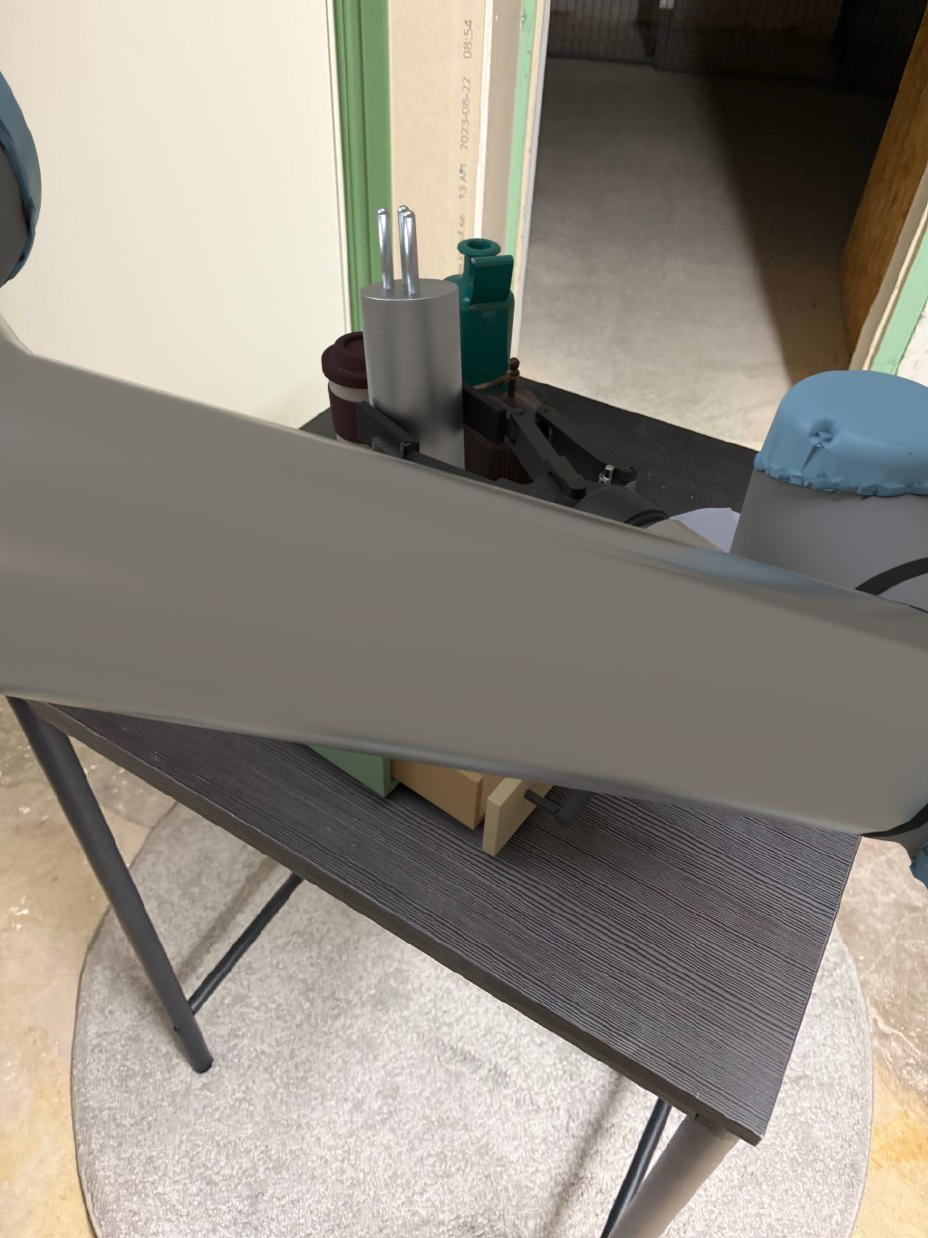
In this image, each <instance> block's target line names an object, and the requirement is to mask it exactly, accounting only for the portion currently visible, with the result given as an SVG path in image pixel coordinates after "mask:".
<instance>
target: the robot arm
mask: <svg viewBox="0 0 928 1238" xmlns="http://www.w3.org/2000/svg"><path fill="white" fill-rule="evenodd" d="M41 172H42V171H41V167H40V161H39V155H38V151H37V147H36V143H35V140H34V137H33V134H32V131H31V129H30V128H29V126H28V124H27V121H26V119H25V116H24V113H23V110H22V108H21V106H20V104H19V102H18V100H17V99H16V97H15V95H14V92H13V89H12V88H11V86H10V84H9V82H8V81H7V79H6V78H5V76H4V74H3V73H2V71H1V70H0V289H1V288H3V286H5V285H6V284H8V282H9V281H11V280H13V279H15V278H16V277H17V275H18V274H19V273H20V272H21V271H22V270H23V268H24V266H25V265H26V263H27V261H28V259H29V257H30V255H31V252H32V249H33V247H34V244H35V238H36V234H37V233H36V227H37V225H38V222H39V220H40V219H39V218H40V214H41V213H40V212H41V208H42V195H43V194H42V193H43V191H42V187H43V186H42V185H43V183H42V173H41ZM462 404H463V423H465V424H466V425H468V426H469V427H470V428H472V429H473V430H475V431H476V432H477V433H479V434H480V435H482V436H483V437H485V438H486V439H487V440H489V441H490V442H492V443H493V444H494V445H499V444H501V443H504V437H505V435H506V436H507V437H508V444H507V452H509V449H511V452H514V453H515V455H516V456H517V458H518V459H519V461H520V462H521V464H522V465H523V467H524V468H525V470H526V471H527V473H528V474H529V476H530V477H531V479H532V480H533V483H529V484H525V485H520V484H518V483H515V482H512V481H510V480H507V479H505V478H500V479H498V480H497V481H492V480H489V479H487V478H484V477H481V476H479V475H476V474H474V473H471V472H468V471H466V470H463V469H461V468H458V467H455V466H453V465H450V464H448V463H445V462H442V461H440V460H437V459H435V458H432V457H429V456H427V455H424V454H422V453H420V442H419V441H418V440H416V439H415V438H414V437H412V436H411V435H410V434H408V433H407V432H406V431H404V430H403V429H402V428H400V427H399V426H398V425H397V424H395V423H394V422H393V421H391V420H390V419H389V418H387V417H386V416H385V415H383V414H382V413H381V412H379V411H378V410H377V409H375V408H374V407H373V406H371V405H370V404H369V403H368V402H366V401H362V402H359V403H356V418H357V437H358V438H359V439H360V440H361V441H363V442H364V443H365V444H366V445H368V446H369V447H370V448H371V449H372V450H368V449H365V448H361V447H358V446H355V445H351V444H348V443H344V442H341V441H337V439H333V438H330V437H328V436H327V437H326V436H323V435H319V434H316V433H313V432H309V431H305V430H302V429H298V428H295V427H292V426H288V425H285V424H281V423H277V422H274V421H272V420H267V419H264V418H262V417H261V418H260V417H257V416H254V415H249V414H247V413H243V412H240V411H236V410H233V409H229V408H226V407H223V406H219V405H216V404H212V403H208V402H205V401H202V400H198V399H194V398H191V397H187V396H184V395H180V394H178V393H173V392H170V391H167V390H163V389H160V388H156V387H153V386H149V385H146V384H142V383H140V382H136V381H132V380H128V379H125V378H121V377H118V376H115V375H111V374H108V373H105V372H100V371H97V370H93V369H90V368H86V367H83V366H81V365H76V364H72V363H69V362H66V361H62V360H59V359H55V358H52V357H49V356H45V355H41V354H38V353H35V352H33V351H32V349H30V348H29V347H28V346H27V345H26V344H25V343H23V341H22V340H21V339H20V338H19V336H18V335H17V333H16V332H15V331H14V329H13V328H12V326H11V325H10V324H9V322H8V321H7V319H6V318H5V317H4V315H3V314H2V313H1V311H0V696H6V697H12V698H18V699H24V700H25V699H26V700H31V701H36V702H42V703H49V704H55V705H61V706H66V707H74V708H78V709H79V708H80V709H85V710H91V711H99V712H102V713H104V712H105V713H109V714H115V715H122V716H127V717H128V716H129V717H135V718H140V719H147V720H153V721H158V722H165V723H171V724H177V725H184V726H189V727H196V728H200V729H201V728H202V729H207V730H214V731H221V732H226V733H232V734H238V735H245V736H250V737H256V738H262V739H270V740H275V741H281V742H287V743H294V744H299V745H305V746H307V745H311V746H317V747H323V748H329V749H335V750H342V751H348V752H354V753H360V754H366V755H372V756H378V757H384V758H391V759H397V760H403V761H409V762H415V763H421V764H427V765H433V766H439V767H446V768H452V769H458V770H464V771H470V772H476V773H482V774H488V775H494V776H501V777H507V778H513V779H519V780H525V781H531V782H537V783H543V784H550V785H553V786H557V787H562V788H568V789H574V790H575V789H580V790H586V791H592V792H596V793H599V794H606V795H612V796H616V797H617V796H618V797H624V798H629V799H636V800H642V801H647V802H648V801H649V802H653V803H660V804H667V805H673V806H679V807H684V808H685V807H686V808H691V809H697V810H701V811H702V810H703V811H708V812H715V813H721V814H726V815H727V814H728V815H734V816H740V817H746V818H752V819H758V820H763V821H770V822H775V823H783V824H788V825H795V826H800V827H805V828H806V827H807V828H813V829H819V830H825V831H831V832H837V833H843V834H849V835H856V836H861V837H863V838H865V839H871V840H877V841H884V842H890V843H897V844H899V845H900V846H902V847H903V848H904V850H905V851H906V853H907V855H908V857H909V860H910V865H909V866H908V867H909V870H910V872H911V874H912V877H913V878H914V879H916V880H917V881H919V882H921V883H922V884H923V885H924V886H925V889H926V890H927V891H928V386H926V385H925V384H922V383H920V382H918V381H914V380H913V379H909V378H905V377H903V376H900V375H895V374H893V373H892V374H891V373H887V372H882V371H875V370H868V369H867V370H866V369H852V370H851V369H846V370H840V369H839V370H837V369H836V370H828V371H822V372H819V373H817V374H813V375H810V376H808V377H805V378H804V379H802V380H800V381H798V382H797V383H795V384H794V385H793V386H792V387H790V388H789V389H788V390H787V391H786V393H784V395H783V396H782V398H781V400H780V402H779V404H778V406H777V408H776V411H775V414H774V416H773V419H772V421H771V424H770V427H769V429H768V432H767V434H766V437H765V439H764V441H763V444H762V447H761V449H760V451H759V452H758V453H756V454H755V456H754V458H753V462H752V464H753V469H752V473H751V476H750V480H749V483H748V487H747V490H746V494H745V497H744V500H743V504H742V507H741V510H740V513H739V514H740V517H739V521H738V524H737V527H736V531H735V534H734V538H733V541H732V544H731V548H730V551H729V553H726V552H724V551H723V550H721V549H720V548H719V547H717V546H716V545H714V544H713V543H711V542H710V541H708V540H707V539H705V538H704V537H702V536H701V535H700V534H698V533H697V532H695V531H694V530H692V529H691V528H689V527H688V526H686V525H685V524H683V523H682V522H681V521H679V520H672V519H669V515H668V514H667V513H666V512H665V511H664V510H662V509H661V508H660V507H658V506H656V505H654V504H653V503H652V502H650V501H648V499H646V498H644V497H643V496H641V495H639V494H638V493H637V492H635V489H636V484H637V480H638V475H639V470H640V468H639V466H638V464H636V463H634V462H632V461H630V460H628V459H625V458H623V457H620V456H618V455H615V454H613V453H612V452H610V451H609V450H608V449H606V448H605V447H604V446H603V445H601V444H600V443H599V442H598V441H596V440H595V439H594V438H592V437H591V436H590V435H588V434H587V433H585V432H584V431H583V430H582V429H580V428H579V427H578V426H577V425H575V424H574V423H572V421H570V420H569V419H568V418H566V417H565V416H564V415H562V414H561V413H560V412H558V411H557V410H556V409H554V408H553V407H552V406H550V405H549V404H543V405H539V406H537V407H536V411H535V412H530V413H528V412H527V411H526V410H524V409H520V408H515V409H513V408H511V407H510V406H508V405H507V404H505V403H503V402H502V401H501V400H499V399H498V398H496V397H494V396H491V395H485V394H483V393H482V392H480V391H479V390H477V389H476V388H474V387H473V386H471V385H470V384H468V383H467V382H465V381H464V380H462ZM550 428H551V430H552V434H551V433H550Z"/></svg>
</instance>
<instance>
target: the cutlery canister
mask: <svg viewBox="0 0 928 1238" xmlns="http://www.w3.org/2000/svg"><path fill="white" fill-rule="evenodd" d="M390 218H391V217H390V212H389V209H388V208H387V207H385V206H381V207H378V209H377V211H376V223H377V236H378V248H379V261H380V272H381V281H378V282H373V283H370V284H368V285H365V286H363V287H361V288H360V289H359V291H358V293H359V294H358V295H359V304H360V315H361V327H362V331H363V337H364V348H365V359H366V370H367V380H368V391H369V402H370V405H371V406H373V407H374V408H375V409H377V410H378V411H379V412H381V413H382V414H383V415H385V416H386V417H387V418H389V419H390V420H391V421H393V422H394V423H395V424H397V425H398V426H399V427H400V428H402V429H403V430H404V431H406V432H407V433H408V434H410V435H411V436H412V437H414V438H415V439H416V440H418V441H419V442H420V453H422V454H424V455H427V456H429V457H432V458H435V459H437V460H440V461H442V462H445V463H448V464H450V465H453V466H455V467H458V468H461V469H463V470H465V462H464V433H463V404H462V376H461V347H460V318H459V290H458V285H457V284H455V283H453V282H450V281H446V280H443V279H440V278H439V279H438V278H427V277H425V278H422V277H421V278H420V272H419V256H418V239H417V238H418V237H417V221H416V214H415V212H414V211H413V210H411V209H410V208H409V207H408V206H407V205H406V204H402V205H400V206H399V207H398V208H397V227H398V240H399V241H398V242H399V252H400V253H399V257H400V269H401V270H400V271H401V278H398V279H397V278H396V279H395V275H394V262H393V247H392V235H391V233H392V232H391V222H390V221H391V220H390Z"/></svg>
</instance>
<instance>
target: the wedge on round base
mask: <svg viewBox="0 0 928 1238" xmlns="http://www.w3.org/2000/svg"><path fill="white" fill-rule="evenodd" d="M740 514H741V513H740V512H737V511H735V510H734V511H733V510H732V507H706V508H705V507H704V508H699V509H696V510H692V511H688V512H684V513H681V514H677V515H674V516H670V517H669V516H668V517H669V519H672V520H679V521H681V522H682V523H683V524H685V525H686V526H688V527H689V528H691V529H692V530H694V531H695V532H697V533H698V534H700V535H701V536H702V537H704V538H705V539H707V540H708V541H710V542H711V543H713V544H714V545H716V546H717V547H719V548H720V549H721V550H723V551H724V552H726V553H729V551H730V548H731V544H732V541H733V538H734V534H735V531H736V527H737V524H738V521H739V517H740Z"/></svg>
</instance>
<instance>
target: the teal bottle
mask: <svg viewBox="0 0 928 1238" xmlns="http://www.w3.org/2000/svg"><path fill="white" fill-rule="evenodd" d="M456 250H457V251H458V252H459V253H460V254H461V255H462V256H463V266H462V273H455V274H452V275H448V276H446V277H444V278H443V279H442V280H446V281H450V282H453V283H455V284H457V285H458V290H459V318H460V347H461V376H462V380H464V381H465V382H467V383H468V384H470V385H471V386H476V385H480V384H484V383H487V382H490V381H493V380H494V379H496V378H498V377H501V376H502V375H504V374H506V372H507V370H508V369H509V368H510V367H509V363H508V361H509V360H510V359H511V353H512V343H513V332H514V330H513V329H514V319H515V310H516V309H515V308H516V298H515V295H514V293H513V291H512V290H511V288H512V281H513V280H512V279H513V274H514V266H515V265H514V264H515V259H514V256H513V255H512V254H501V255H499V254H500V253H501V252H502V246H501V245H500V244H499V243H498V242H496V241H494V240H491V239H488V238H483V237H472V238H471V237H470V238H467V239H466V238H465V239H463V240H461V241H459V242H458V243H457V245H456ZM500 387H501V392H507V391H508V382H507V383H505V384H503V385H501V386H500ZM493 392H494V388H493V389H490V390H487V391H484V392H482V393H483V394H488V393H493Z"/></svg>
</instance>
